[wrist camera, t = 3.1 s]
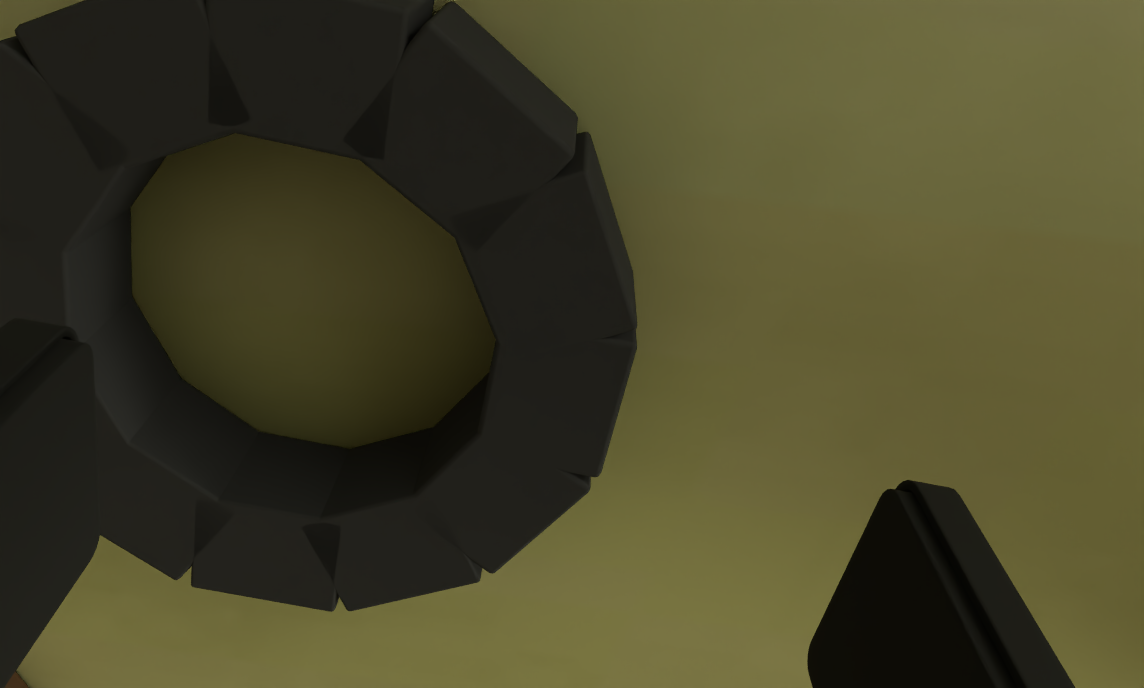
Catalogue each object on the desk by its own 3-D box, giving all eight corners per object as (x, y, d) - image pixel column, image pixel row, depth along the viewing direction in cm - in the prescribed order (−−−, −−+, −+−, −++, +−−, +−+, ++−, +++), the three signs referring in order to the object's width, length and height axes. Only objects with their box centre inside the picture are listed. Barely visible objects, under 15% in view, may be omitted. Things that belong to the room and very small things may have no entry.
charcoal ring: (502, -147, 12) (486, -149, 10) (691, 459, 16) (702, 532, 14) (-131, 86, 13) (-241, 120, 12) (197, 578, 18) (153, 657, 16)
